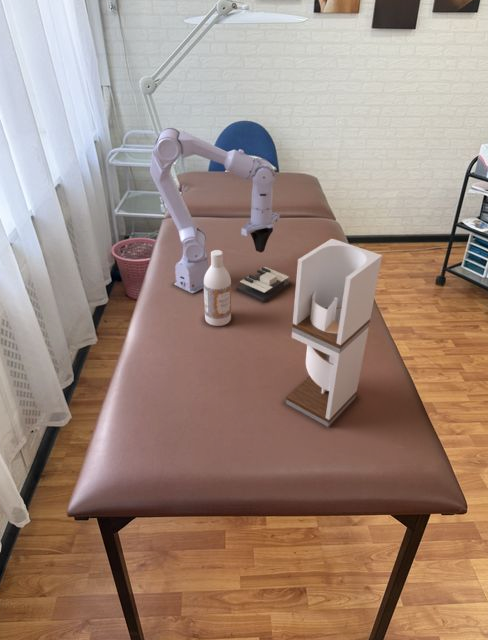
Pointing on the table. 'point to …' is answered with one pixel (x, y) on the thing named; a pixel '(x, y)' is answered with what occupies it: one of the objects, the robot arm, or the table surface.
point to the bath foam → (217, 292)
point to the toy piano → (261, 295)
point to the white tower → (332, 325)
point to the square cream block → (268, 278)
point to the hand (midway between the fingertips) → (259, 250)
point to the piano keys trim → (262, 287)
